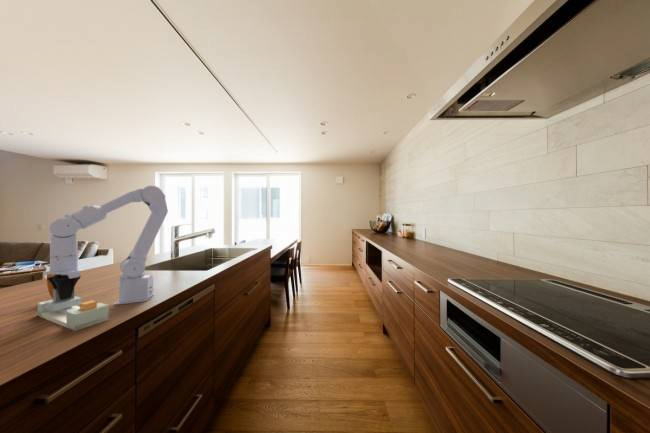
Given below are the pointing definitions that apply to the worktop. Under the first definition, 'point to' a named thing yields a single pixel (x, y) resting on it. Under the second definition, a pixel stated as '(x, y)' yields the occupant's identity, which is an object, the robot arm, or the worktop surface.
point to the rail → (75, 315)
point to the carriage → (62, 302)
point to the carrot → (50, 284)
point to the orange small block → (88, 305)
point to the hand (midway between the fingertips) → (63, 298)
